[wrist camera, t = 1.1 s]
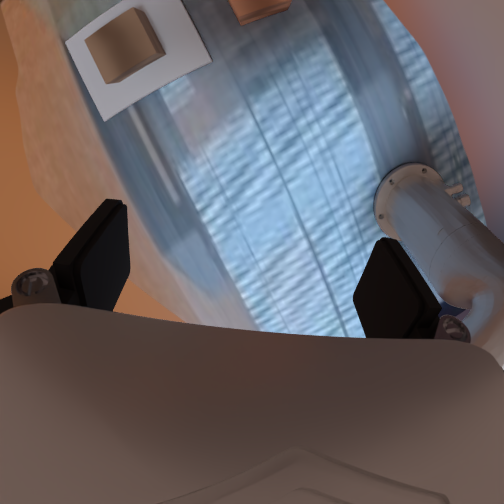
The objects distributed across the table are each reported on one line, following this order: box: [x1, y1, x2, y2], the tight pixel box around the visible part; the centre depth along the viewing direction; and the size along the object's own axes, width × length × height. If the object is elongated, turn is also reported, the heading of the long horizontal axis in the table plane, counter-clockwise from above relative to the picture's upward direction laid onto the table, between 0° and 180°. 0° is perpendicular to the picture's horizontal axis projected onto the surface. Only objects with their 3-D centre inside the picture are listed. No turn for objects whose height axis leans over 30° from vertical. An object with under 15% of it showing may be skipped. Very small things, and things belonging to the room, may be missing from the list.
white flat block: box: [65, 0, 213, 121], centre depth 28 cm, size 16×14×5 cm
